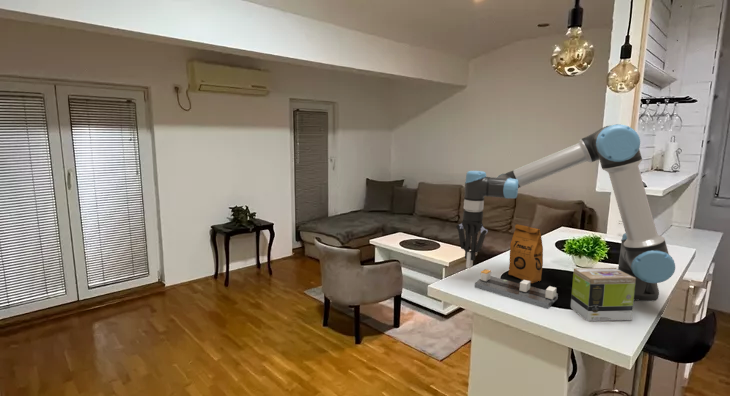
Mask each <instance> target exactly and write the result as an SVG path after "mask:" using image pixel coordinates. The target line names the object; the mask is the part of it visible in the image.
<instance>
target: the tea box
mask: <svg viewBox="0 0 730 396" xmlns="http://www.w3.org/2000/svg"><path fill="white" fill-rule="evenodd" d="M572 272H573V274H572V287H571V295H570V297H571V298H570V308H571V310H573V311H574V312H575V313H576V314H577V315H579V316H580V317H581V318H582V319H584V320H585V321H587V322H589V321H590V322H591V321H593V322H596V321H597V322H599V321H600V322H601V321H632V319H633V311H634V310H633V309H634V302H635V300H634V293H635V283H636V278H635V277H633V276H631V275H629V274H626V273H624V272H622V271H620V270H618V268H617V267H588V268H581V267H580V268H576V267H575V268H573V271H572Z"/></svg>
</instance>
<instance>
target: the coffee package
mask: <svg viewBox="0 0 730 396" xmlns="http://www.w3.org/2000/svg"><path fill="white" fill-rule="evenodd" d="M514 229H515V230H514V232H513V234H512V238H511V241H510V246H509V247H510V248H509V265H508V275H509V276H513V277H515V278H518V279H520V280H521V281H523V280H527V281H531V282H530V284H534V283H537V282H538V281H539V282H540V281H542V274H543V263H544V259H543V258H544V257H543V256H544V247H543V240H542V234H541V229H540V228H537V227H531V226H527V225H523V224H519V223H517V224H515V226H514Z"/></svg>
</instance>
